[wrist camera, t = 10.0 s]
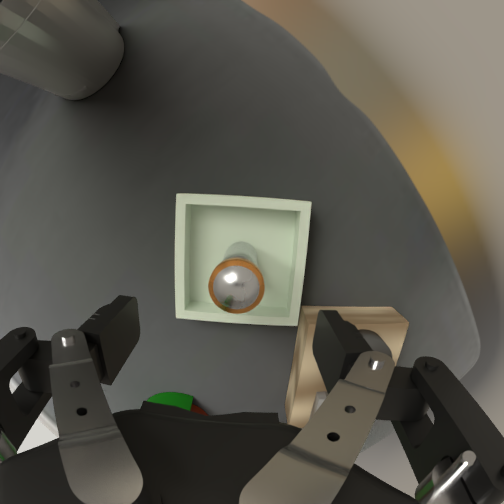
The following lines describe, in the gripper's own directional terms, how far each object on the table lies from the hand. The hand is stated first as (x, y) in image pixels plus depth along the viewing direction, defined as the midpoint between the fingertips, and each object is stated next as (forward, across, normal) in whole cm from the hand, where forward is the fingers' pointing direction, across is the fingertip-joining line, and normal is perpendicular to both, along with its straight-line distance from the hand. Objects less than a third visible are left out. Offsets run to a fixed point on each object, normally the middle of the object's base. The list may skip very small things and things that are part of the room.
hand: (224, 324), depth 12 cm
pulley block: (+13, -12, +11) cm, 21 cm away
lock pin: (+13, 0, 0) cm, 13 cm away
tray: (+14, 0, 0) cm, 14 cm away
